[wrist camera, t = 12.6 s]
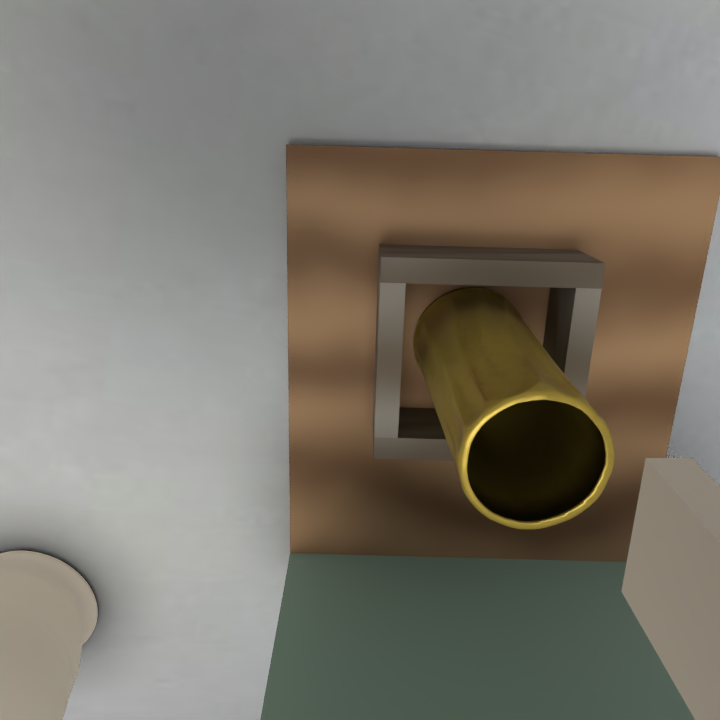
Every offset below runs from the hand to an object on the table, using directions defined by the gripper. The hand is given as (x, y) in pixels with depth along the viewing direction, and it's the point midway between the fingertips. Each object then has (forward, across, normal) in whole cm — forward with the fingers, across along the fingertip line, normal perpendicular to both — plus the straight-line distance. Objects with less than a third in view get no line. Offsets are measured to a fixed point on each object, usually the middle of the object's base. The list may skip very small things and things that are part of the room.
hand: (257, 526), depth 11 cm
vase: (+24, +8, -5) cm, 25 cm away
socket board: (+24, +9, -8) cm, 27 cm away
